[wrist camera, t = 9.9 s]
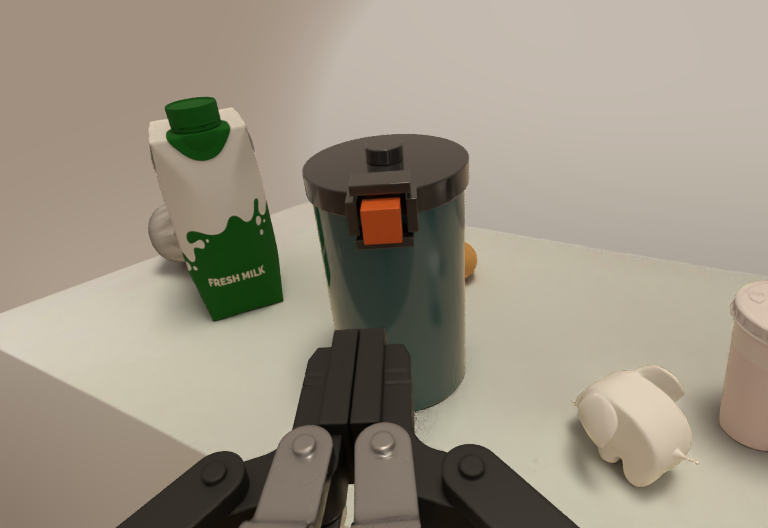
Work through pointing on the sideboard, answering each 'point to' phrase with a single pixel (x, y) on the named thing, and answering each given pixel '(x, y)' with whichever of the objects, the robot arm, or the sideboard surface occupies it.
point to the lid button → (381, 220)
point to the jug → (398, 249)
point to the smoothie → (748, 369)
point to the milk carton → (217, 205)
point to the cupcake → (164, 235)
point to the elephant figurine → (637, 421)
